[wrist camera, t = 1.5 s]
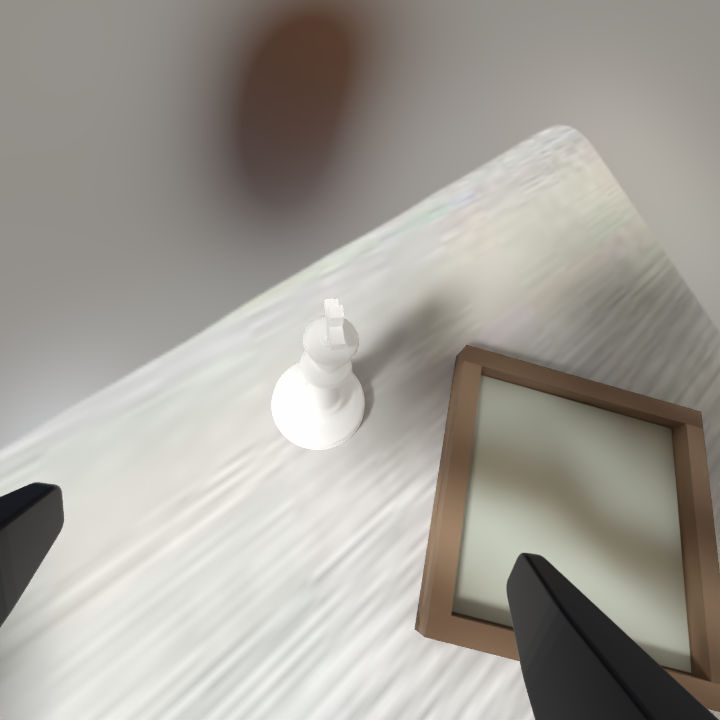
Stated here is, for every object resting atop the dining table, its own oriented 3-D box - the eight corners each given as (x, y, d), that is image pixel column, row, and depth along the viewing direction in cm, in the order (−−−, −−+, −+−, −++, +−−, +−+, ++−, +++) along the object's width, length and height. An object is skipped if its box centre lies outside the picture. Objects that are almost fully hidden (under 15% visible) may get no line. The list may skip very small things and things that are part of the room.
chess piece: (356, 357, 24) (396, 244, 14) (371, 443, 22) (428, 376, 13) (267, 365, 23) (250, 250, 13) (276, 456, 21) (263, 394, 12)
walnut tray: (702, 702, 19) (735, 715, 18) (414, 629, 19) (425, 636, 17) (677, 418, 25) (701, 411, 24) (456, 356, 24) (466, 345, 23)
